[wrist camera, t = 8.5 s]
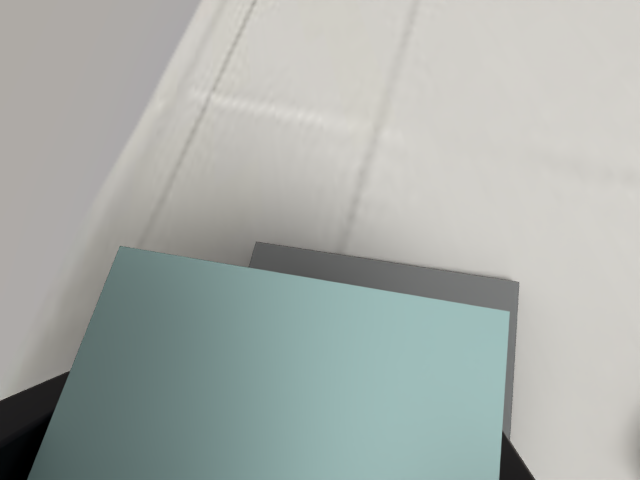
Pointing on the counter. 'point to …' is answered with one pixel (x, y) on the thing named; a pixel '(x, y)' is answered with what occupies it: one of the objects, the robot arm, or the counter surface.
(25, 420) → the robot arm
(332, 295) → the pale teal box
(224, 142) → the counter surface
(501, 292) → the mat
